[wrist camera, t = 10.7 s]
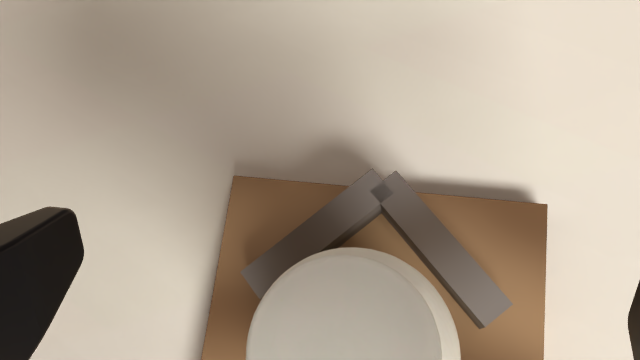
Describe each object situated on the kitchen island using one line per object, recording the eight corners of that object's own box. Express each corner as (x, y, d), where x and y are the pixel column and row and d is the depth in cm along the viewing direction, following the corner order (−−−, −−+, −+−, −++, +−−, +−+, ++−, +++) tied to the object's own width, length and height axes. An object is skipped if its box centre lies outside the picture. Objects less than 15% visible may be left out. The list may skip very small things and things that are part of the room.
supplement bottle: (379, 472, 20) (364, 571, 11) (260, 368, 21) (156, 376, 12) (472, 342, 21) (531, 329, 11) (350, 250, 22) (318, 174, 13)
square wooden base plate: (530, 564, 19) (549, 593, 17) (184, 500, 21) (158, 518, 19) (541, 202, 23) (558, 184, 20) (241, 175, 25) (224, 155, 22)
